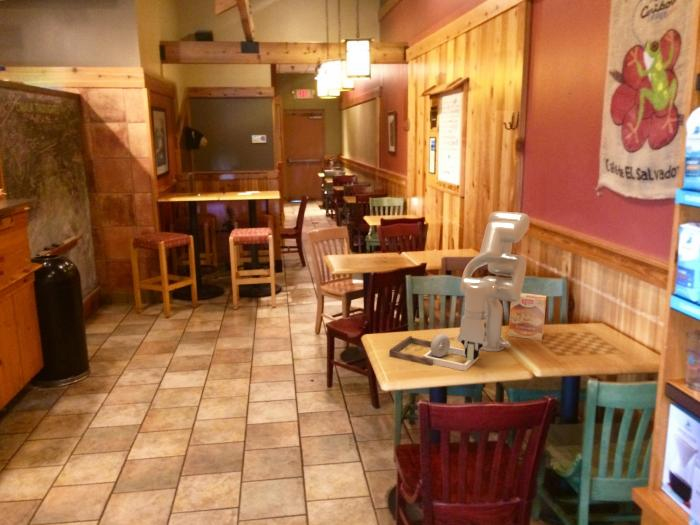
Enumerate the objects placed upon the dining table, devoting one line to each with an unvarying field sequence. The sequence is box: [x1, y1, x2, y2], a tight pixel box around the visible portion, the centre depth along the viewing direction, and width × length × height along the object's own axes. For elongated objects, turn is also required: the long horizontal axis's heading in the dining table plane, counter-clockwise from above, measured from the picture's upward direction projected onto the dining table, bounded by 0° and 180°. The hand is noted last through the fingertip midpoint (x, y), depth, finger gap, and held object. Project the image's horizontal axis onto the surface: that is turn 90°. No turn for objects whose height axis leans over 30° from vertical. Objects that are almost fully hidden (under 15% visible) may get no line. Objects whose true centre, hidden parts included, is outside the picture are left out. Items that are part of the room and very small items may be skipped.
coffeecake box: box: [507, 292, 547, 341], centre depth 271 cm, size 15×7×20 cm, turn 68°
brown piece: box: [388, 335, 442, 366], centre depth 250 cm, size 19×20×3 cm
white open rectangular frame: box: [422, 342, 480, 372], centre depth 242 cm, size 19×16×9 cm
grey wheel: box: [430, 333, 451, 358], centre depth 245 cm, size 10×3×10 cm, turn 127°
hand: (471, 357), depth 238 cm, fingers closed on white open rectangular frame, 2 cm apart
